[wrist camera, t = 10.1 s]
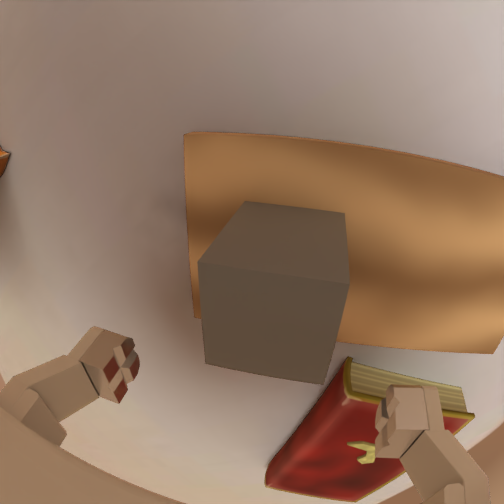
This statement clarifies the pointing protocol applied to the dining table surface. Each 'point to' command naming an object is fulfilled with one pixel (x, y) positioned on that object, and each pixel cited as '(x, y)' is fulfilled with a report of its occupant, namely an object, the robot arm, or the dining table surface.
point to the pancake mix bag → (3, 161)
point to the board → (370, 231)
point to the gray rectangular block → (275, 291)
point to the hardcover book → (350, 437)
